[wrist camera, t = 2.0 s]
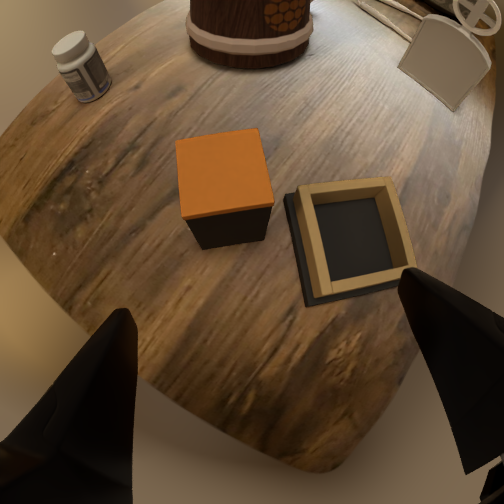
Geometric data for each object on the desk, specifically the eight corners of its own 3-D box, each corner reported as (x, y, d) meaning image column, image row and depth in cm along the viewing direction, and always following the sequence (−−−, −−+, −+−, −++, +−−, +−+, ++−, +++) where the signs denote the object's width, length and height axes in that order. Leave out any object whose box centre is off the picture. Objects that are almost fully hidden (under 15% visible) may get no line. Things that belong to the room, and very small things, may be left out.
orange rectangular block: (265, 240, 24) (274, 202, 16) (201, 250, 23) (181, 217, 16) (254, 183, 25) (258, 127, 17) (194, 192, 25) (175, 140, 17)
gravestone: (403, 60, 30) (452, -34, 12) (457, 103, 29) (523, 20, 11) (397, 67, 30) (448, -33, 12) (453, 112, 28) (524, 24, 11)
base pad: (402, 284, 23) (425, 278, 20) (305, 307, 23) (316, 304, 19) (376, 188, 25) (393, 170, 22) (283, 199, 25) (289, 179, 21)
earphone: (368, -26, 32) (455, -33, 19) (398, 44, 43) (479, 48, 30) (337, -16, 29) (444, -29, 16) (375, 67, 40) (472, 73, 27)
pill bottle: (104, 70, 28) (82, 23, 20) (117, 86, 27) (93, 35, 19) (73, 92, 27) (45, 48, 19) (83, 110, 27) (52, 62, 18)
